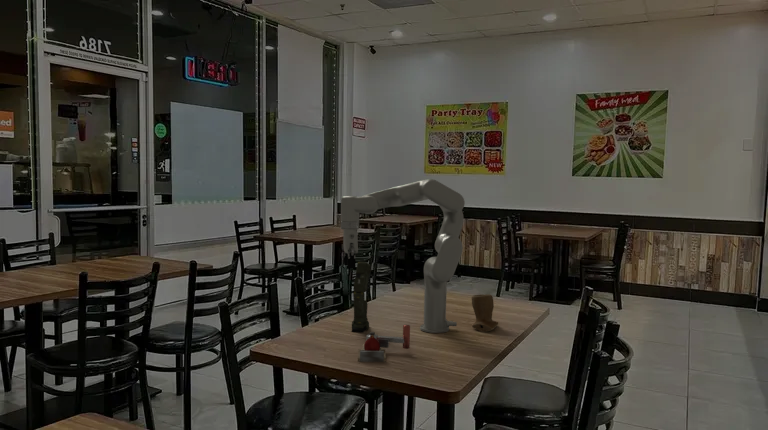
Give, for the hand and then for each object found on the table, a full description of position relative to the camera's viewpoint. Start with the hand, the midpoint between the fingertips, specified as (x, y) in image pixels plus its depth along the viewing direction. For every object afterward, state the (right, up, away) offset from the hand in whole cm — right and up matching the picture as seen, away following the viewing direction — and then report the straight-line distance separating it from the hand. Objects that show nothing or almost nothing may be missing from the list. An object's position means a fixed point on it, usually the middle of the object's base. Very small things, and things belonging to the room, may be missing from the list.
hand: (349, 266), depth 238 cm
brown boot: (+58, -29, +14) cm, 66 cm away
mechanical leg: (+4, -28, +9) cm, 30 cm away
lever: (+16, -28, -23) cm, 40 cm away
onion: (+10, -30, -30) cm, 44 cm away
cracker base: (+10, -30, -27) cm, 42 cm away
